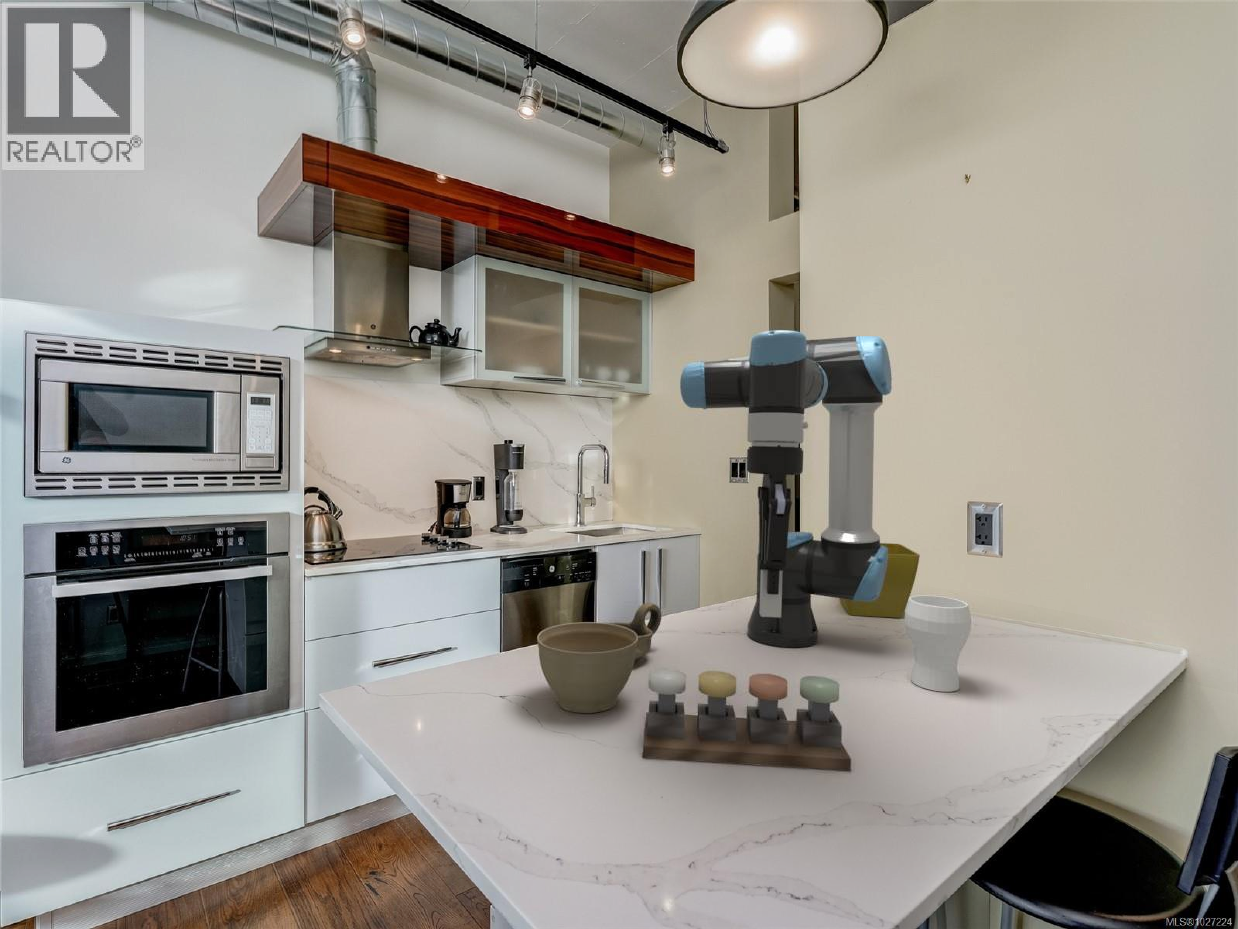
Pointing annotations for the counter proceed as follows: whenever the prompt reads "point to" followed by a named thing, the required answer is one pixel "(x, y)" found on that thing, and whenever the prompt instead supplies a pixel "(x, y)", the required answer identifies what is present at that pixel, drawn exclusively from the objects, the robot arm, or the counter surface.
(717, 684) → the ochre button
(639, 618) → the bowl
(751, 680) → the terracotta button
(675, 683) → the grey button
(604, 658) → the planter bowl
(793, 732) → the panel
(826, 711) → the sage button
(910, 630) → the cup
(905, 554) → the flower pot
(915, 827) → the counter surface
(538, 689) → the counter surface
